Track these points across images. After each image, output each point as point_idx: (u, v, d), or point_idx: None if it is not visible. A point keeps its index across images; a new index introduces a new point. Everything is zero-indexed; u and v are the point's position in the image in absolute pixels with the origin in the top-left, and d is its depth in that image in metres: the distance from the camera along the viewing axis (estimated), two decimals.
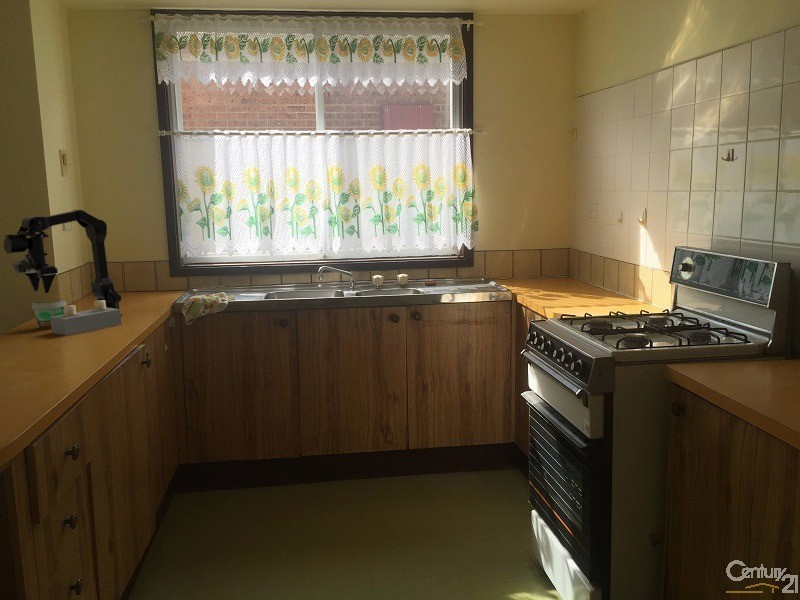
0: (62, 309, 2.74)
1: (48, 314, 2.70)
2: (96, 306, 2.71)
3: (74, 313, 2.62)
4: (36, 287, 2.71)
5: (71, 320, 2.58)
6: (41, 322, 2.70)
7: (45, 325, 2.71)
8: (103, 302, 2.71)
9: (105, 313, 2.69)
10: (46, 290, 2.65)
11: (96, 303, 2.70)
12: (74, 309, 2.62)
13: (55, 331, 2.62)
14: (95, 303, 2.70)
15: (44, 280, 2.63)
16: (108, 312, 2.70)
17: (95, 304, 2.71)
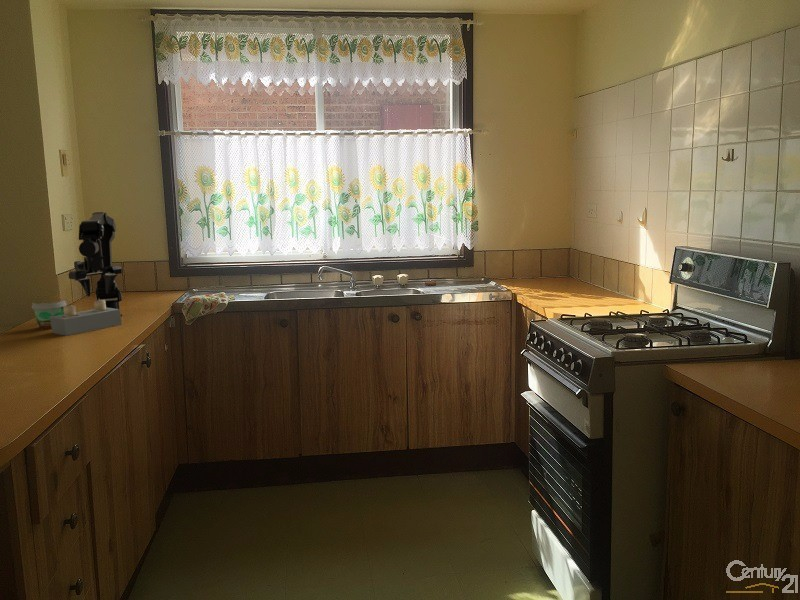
0: (62, 309, 2.74)
1: (48, 314, 2.70)
2: (96, 306, 2.71)
3: (74, 313, 2.62)
4: (107, 290, 2.74)
5: (71, 320, 2.58)
6: (41, 322, 2.70)
7: (45, 325, 2.71)
8: (103, 302, 2.71)
9: (105, 313, 2.69)
10: (87, 294, 2.68)
11: (96, 303, 2.70)
12: (74, 309, 2.62)
13: (55, 331, 2.62)
14: (95, 303, 2.70)
15: (82, 284, 2.67)
16: (108, 312, 2.70)
17: (95, 304, 2.71)
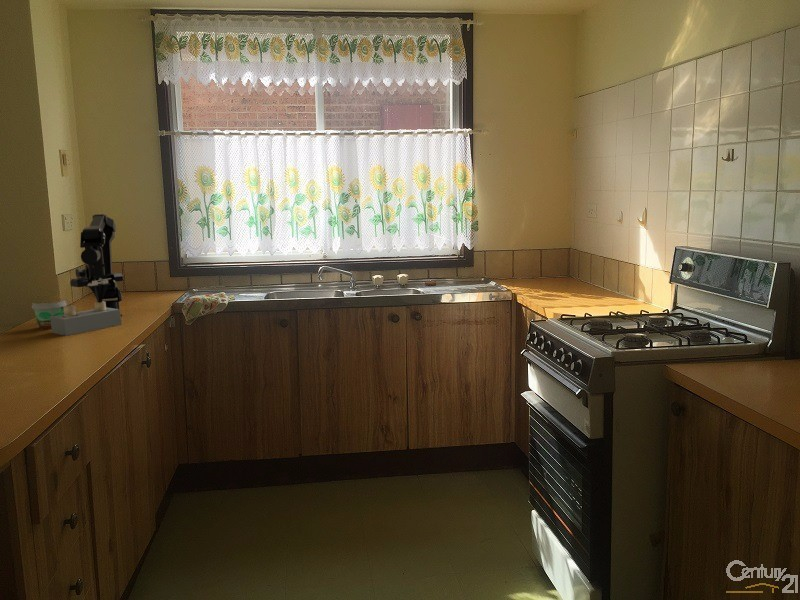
0: (62, 309, 2.74)
1: (48, 314, 2.70)
2: (96, 307, 2.71)
3: (74, 313, 2.62)
4: None
5: (71, 320, 2.58)
6: (41, 322, 2.70)
7: (45, 325, 2.71)
8: (103, 303, 2.71)
9: (105, 313, 2.69)
10: (97, 300, 2.72)
11: (96, 304, 2.70)
12: (74, 309, 2.62)
13: (55, 331, 2.62)
14: (95, 304, 2.71)
15: (92, 290, 2.71)
16: (108, 312, 2.70)
17: (95, 305, 2.71)
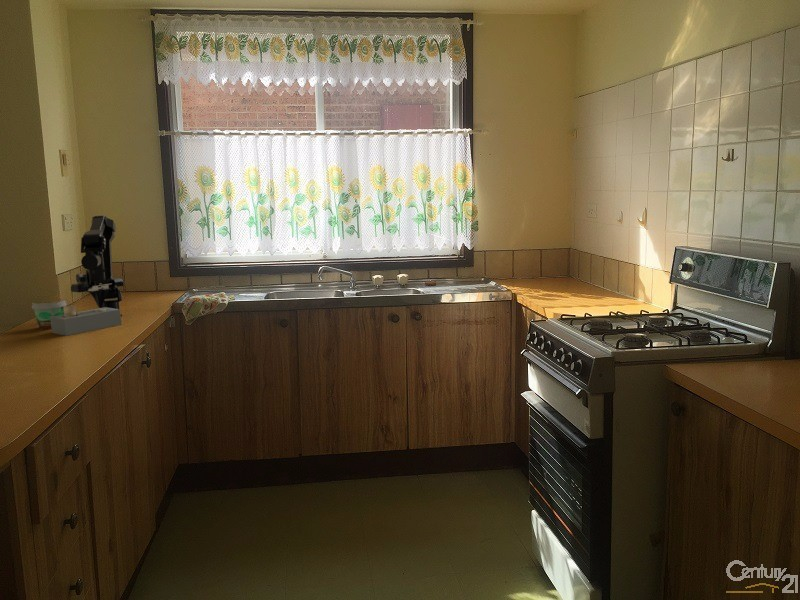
0: (62, 309, 2.74)
1: (48, 314, 2.70)
2: None
3: (74, 313, 2.62)
4: None
5: (71, 320, 2.58)
6: (41, 322, 2.70)
7: (45, 325, 2.71)
8: None
9: (105, 313, 2.69)
10: (98, 305, 2.72)
11: None
12: (74, 309, 2.62)
13: (55, 331, 2.62)
14: None
15: (93, 295, 2.71)
16: (108, 312, 2.70)
17: None
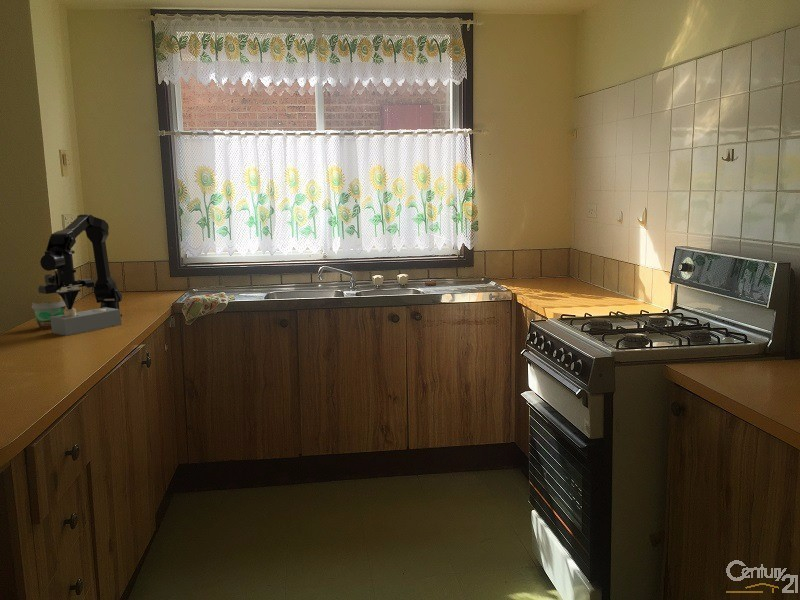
0: (62, 309, 2.74)
1: (48, 314, 2.70)
2: None
3: None
4: None
5: (71, 320, 2.58)
6: (41, 322, 2.70)
7: (45, 325, 2.71)
8: None
9: (105, 313, 2.69)
10: (67, 307, 2.62)
11: None
12: (74, 312, 2.63)
13: (55, 331, 2.62)
14: None
15: (62, 296, 2.61)
16: (108, 312, 2.70)
17: None
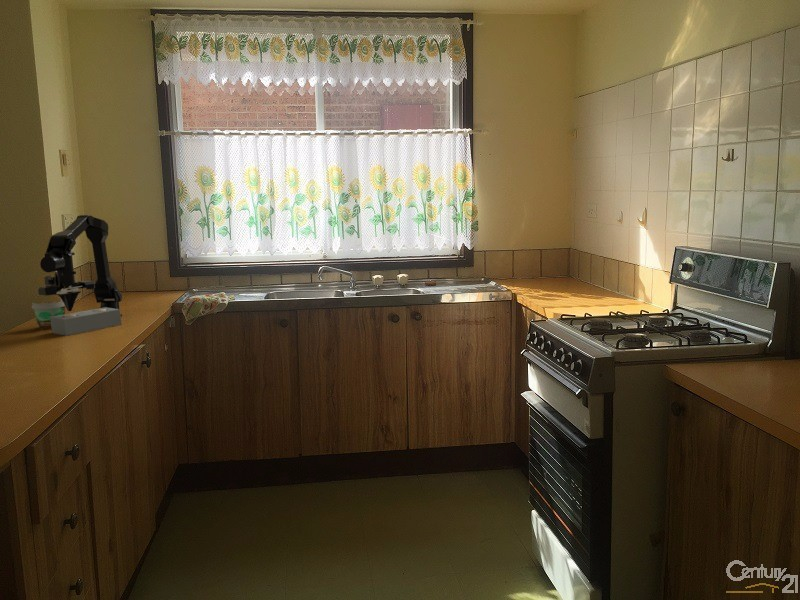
0: (62, 309, 2.74)
1: (48, 314, 2.70)
2: None
3: None
4: None
5: (71, 320, 2.58)
6: (41, 322, 2.70)
7: (45, 325, 2.71)
8: None
9: (105, 313, 2.69)
10: (67, 308, 2.62)
11: None
12: None
13: (55, 331, 2.62)
14: None
15: (62, 298, 2.61)
16: (108, 312, 2.70)
17: None
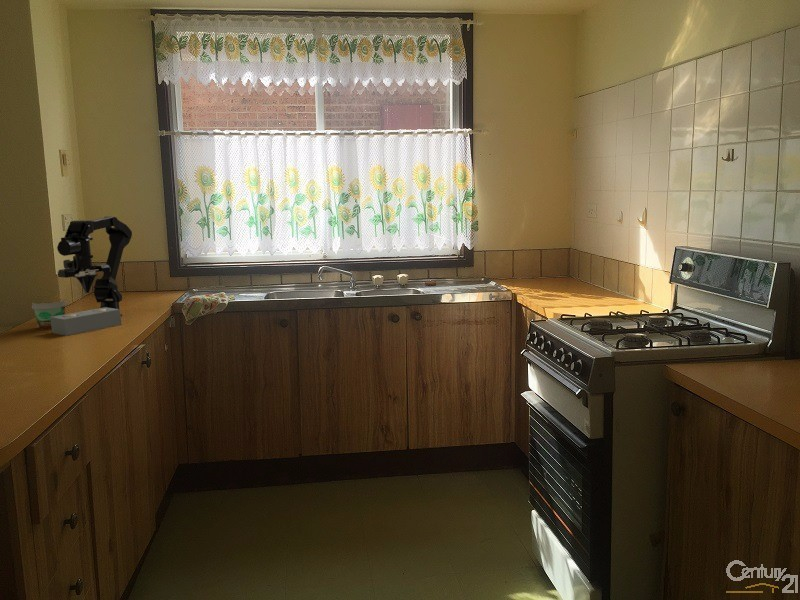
0: (62, 309, 2.74)
1: (48, 314, 2.70)
2: None
3: None
4: None
5: (71, 320, 2.58)
6: (41, 322, 2.70)
7: (45, 325, 2.71)
8: None
9: (105, 313, 2.69)
10: (84, 290, 2.78)
11: None
12: None
13: (55, 331, 2.62)
14: None
15: (80, 280, 2.77)
16: (108, 312, 2.70)
17: None
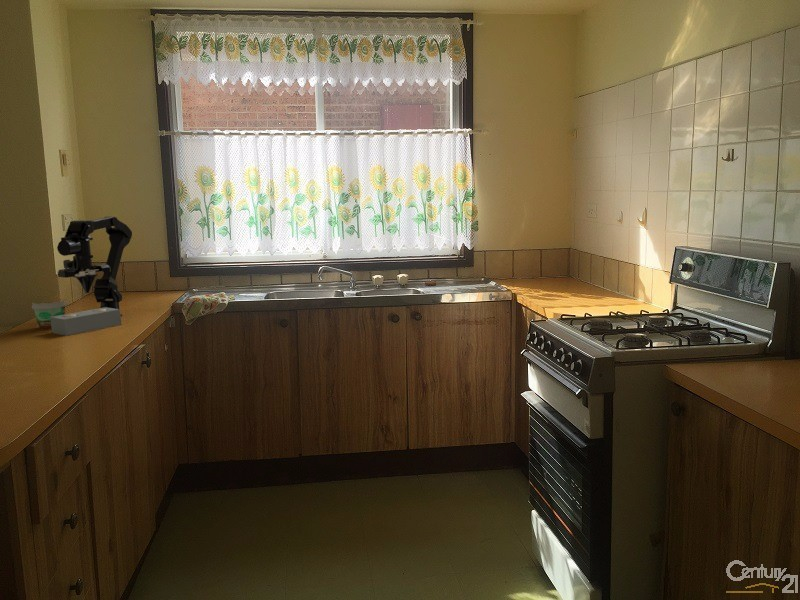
0: (62, 309, 2.74)
1: (48, 314, 2.70)
2: None
3: None
4: None
5: (71, 320, 2.58)
6: (41, 322, 2.70)
7: (45, 325, 2.71)
8: None
9: (105, 313, 2.69)
10: (84, 290, 2.78)
11: None
12: None
13: (55, 331, 2.62)
14: None
15: (80, 280, 2.77)
16: (108, 312, 2.70)
17: None
